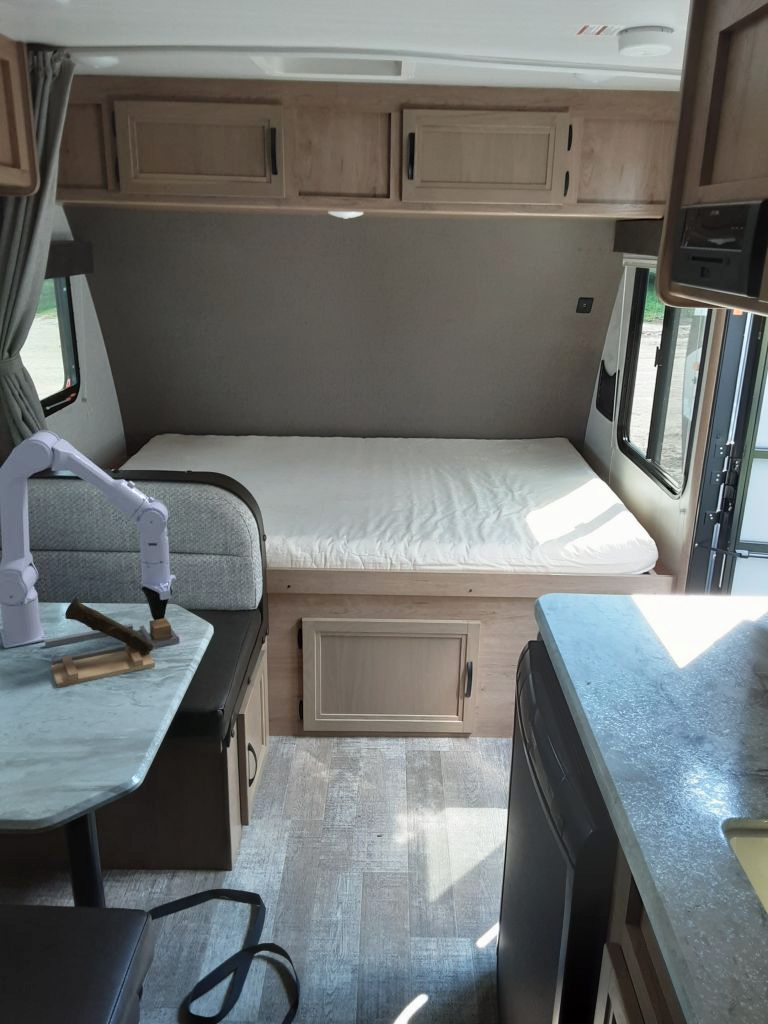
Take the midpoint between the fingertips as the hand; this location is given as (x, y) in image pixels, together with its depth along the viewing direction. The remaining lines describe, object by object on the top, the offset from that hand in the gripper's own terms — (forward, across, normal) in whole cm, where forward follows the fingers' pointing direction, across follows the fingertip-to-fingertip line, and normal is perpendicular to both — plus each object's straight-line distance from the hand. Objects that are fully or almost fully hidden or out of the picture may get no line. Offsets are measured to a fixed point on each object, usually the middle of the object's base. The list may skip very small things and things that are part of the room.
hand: (158, 618), depth 172 cm
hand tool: (-4, -6, +11) cm, 13 cm away
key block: (+3, -4, +1) cm, 5 cm away
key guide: (+3, -2, +1) cm, 4 cm away
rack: (+3, -11, +14) cm, 18 cm away
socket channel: (+3, -1, +14) cm, 14 cm away
